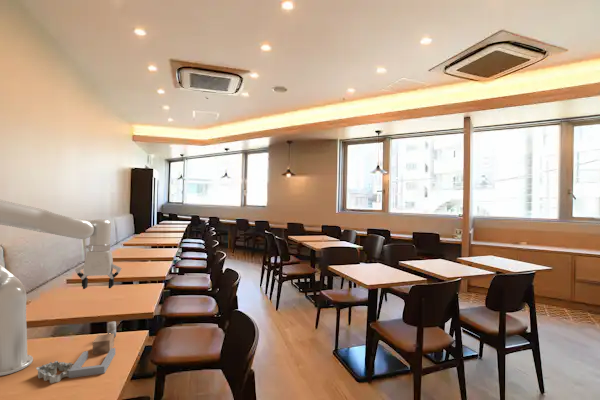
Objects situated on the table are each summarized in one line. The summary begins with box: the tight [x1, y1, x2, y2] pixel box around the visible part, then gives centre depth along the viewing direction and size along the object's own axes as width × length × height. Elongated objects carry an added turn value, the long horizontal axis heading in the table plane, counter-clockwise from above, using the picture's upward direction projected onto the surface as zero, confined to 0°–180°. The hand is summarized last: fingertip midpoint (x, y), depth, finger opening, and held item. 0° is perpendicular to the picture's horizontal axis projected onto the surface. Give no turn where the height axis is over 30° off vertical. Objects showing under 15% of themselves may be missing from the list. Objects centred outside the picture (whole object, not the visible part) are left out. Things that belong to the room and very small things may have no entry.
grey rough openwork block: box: [36, 360, 74, 384], centre depth 111 cm, size 11×8×4 cm
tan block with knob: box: [92, 320, 117, 355], centre depth 133 cm, size 6×16×6 cm, turn 16°
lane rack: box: [68, 347, 116, 379], centre depth 118 cm, size 11×14×2 cm
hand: (97, 287), depth 136 cm, fingers open, 9 cm apart
